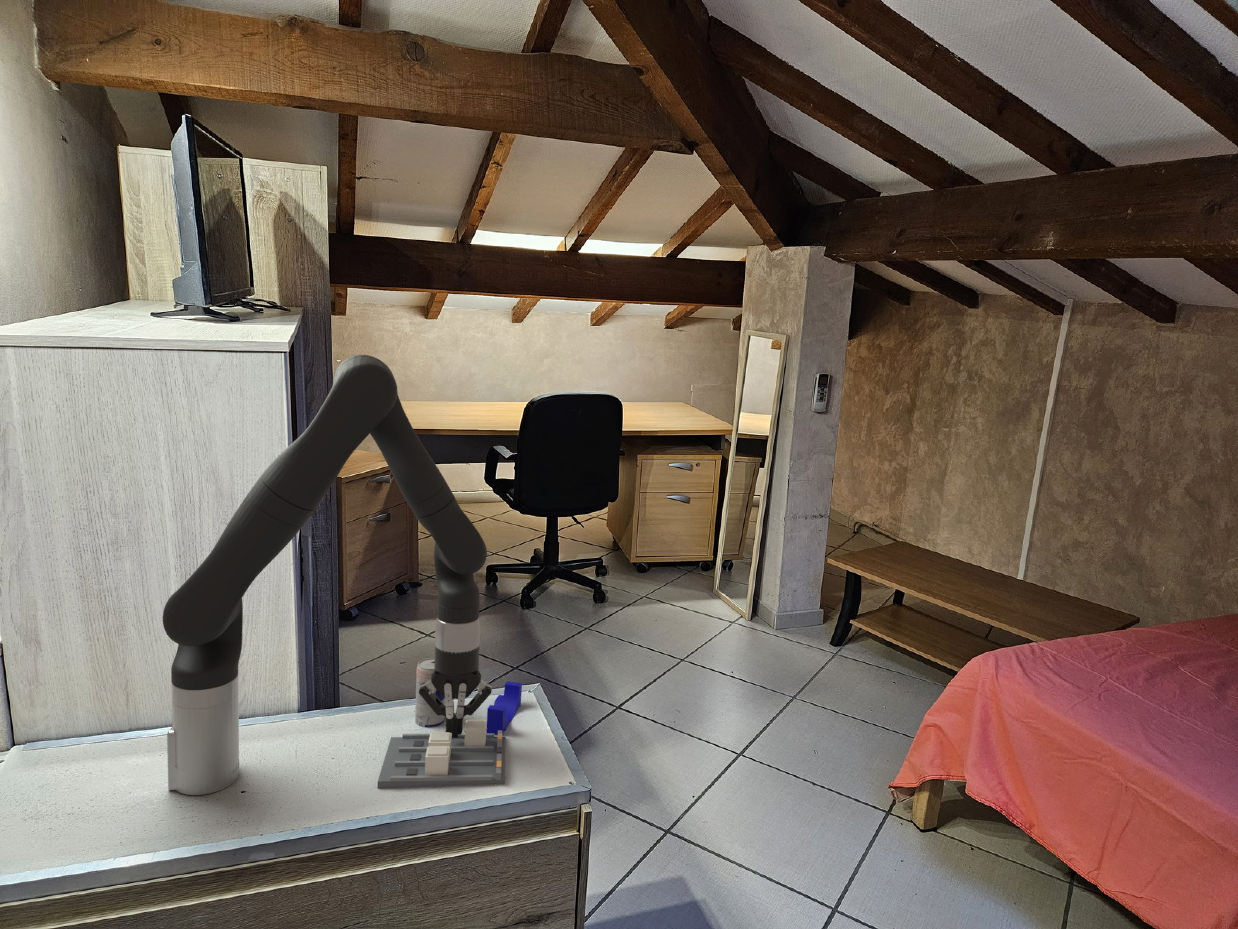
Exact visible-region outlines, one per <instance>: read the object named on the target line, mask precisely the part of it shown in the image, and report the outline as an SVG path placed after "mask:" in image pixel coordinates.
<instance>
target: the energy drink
mask: <svg viewBox="0 0 1238 929" xmlns="http://www.w3.org/2000/svg"><path fill="white" fill-rule="evenodd" d="M434 663H435V657H428V658H423V659H422V660H419V661H418V663H417V665H416V666H417V667H416V679H415V680H416V681H415V683H416V684H415V714H414V721H415V724H416V725H417V726H419V727H422V728H434V727H435V728H436V727H438V726H439V725H442V724H443V723H444V722H445V721H446V717H445V716H443V715H437V714H436V713H435V712H434V711H433V710H432V708H431V707H430V706H429V705H428V704H427V702H426V701H425V700H424V699H423V698H422V696H421V695H420V694H419V689H420V685H421V683H426V682H428V681H429V680H431V677H432V674H433V672H434ZM433 687H434V686H433ZM434 693H435V694H436V696H437V697H438V698H439V699H440V701H441V702H442V703H443V704H444V705H445V698H443V697H442V696H441V695H440V693H439V692H438V691H437V689H436V688H435V687H434Z"/></svg>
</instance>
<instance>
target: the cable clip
mask: <svg viewBox="0 0 1238 929" xmlns="http://www.w3.org/2000/svg"><path fill="white" fill-rule="evenodd" d="M522 686H523V683H522V682H516V681H515V682H514V681H506V682H505V684H504V689H503V690H504V691H503V694H498V696H496V698H495V700H494V703H493V704H489V706H488V707H487V712H486V714H487V715H486V720H487V723H486V733H494V736H498V730H502V735H503V736H504V732H505V731H506V730H507V728H508V727H509V725H510V724H511V722H512V720H513V718H514V717H515V715H516V713H517V712H518V709H519V708H520V707H521V705H522V690H523V687H522ZM509 723H510V724H509Z"/></svg>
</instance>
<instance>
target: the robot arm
mask: <svg viewBox="0 0 1238 929" xmlns="http://www.w3.org/2000/svg"><path fill="white" fill-rule="evenodd" d="M393 374H394V373H393V371H392V370H391V369H390V367H389V366H388V365H387V364H386V363H385V362H384V361H383V360H381V359H379V358H378V357H375V356H373V355H368V354H356V355H352V356H350V357H348V358H345V359H344V360H343V361H342V362H341V363H340V364H339V366H337V368H336V370H335V372H334V375H333V378H332V387H331V389H330V390H329V393H328V394H327V396H326V398H325V400H324V402H323V404H321V406H320V408H319V410H318V412H317V414H316V415H315V417H314V418H313V419H312V421H311V422H310V424H309V425H308V427H307V428H306V429H305V430H304V431H303V432H302V434H300V435H299V437H297V438H296V439H295V440H294V441H293V442H292V443H291V444H289V445H288V446H287V447H286V448H285V449H283V451H282V452H281V453H280V454H279V455H278V456H277V457H276V458H275V459H274V460H273V461H272V462H271V463H270V464H269V466H268V467H267V468H265V470H264V471H263V473H262V474H261V475H260V476H259V478H258V480H257V481H256V482H255V483H254V485H253V486H252V487H251V489H250V490H249V492H248V493H247V494H246V496H245V497H244V499H243V500H242V502H241V503H240V504H239V507H238V508H237V509H236V511H235V513H234V514H233V516H232V517H231V519H230V520H229V522H228V523H227V525H226V527H225V529H224V530H223V532H222V534H221V535H220V536H219V538H218V541H217V542H216V544H215V545H214V547H213V549H212V550H211V551H210V553H209V554H208V555H207V557H206V558H205V559H204V560H203V561H202V563H201V564H200V565H199V566H198V568H196V569H195V571H193V573H192V574H191V576H189V578H188V579H187V580H186V581H185V582H184V583H182V585H180V587H178V589H177V590H175V592H173V594H172V595H170V597H169V598H168V599H167V601H166V602H165V605H164V608H163V612H162V626H163V629H164V631H165V634H166V635H167V636H168V637H169V639H170V640H172V642H174V643H175V644H177V649H176V653H175V657H174V658H173V661H172V665H171V668H170V670H171V674H170V675H171V711H172V714H171V715H172V716H171V718H172V727H171V728H170V729H169V730H168V732H167V734H166V745H167V748H166V749H167V783H168V785H167V786H168V787H167V788H168V789H167V790H169V791H176V792H178V793H180V794H183V795H188V796H203V795H208V794H212V793H213V794H214V793H216V792H219V791H221V790H223V789H226V788H228V787H230V786H231V785H232V784H233V783H235V782H236V780H238V777H239V776H240V737H239V736H240V734H239V733H240V726H239V725H240V724H239V723H240V720H239V716H240V715H239V709H240V708H239V707H240V706H239V705H240V704H239V703H240V702H239V695H240V694H239V664H240V662H239V661H240V658H241V654H242V648H243V625H244V624H243V623H244V622H243V621H244V620H243V619H244V618H243V617H244V616H243V614H244V611H243V610H244V606H243V598H244V596H245V593H247V591H248V589H249V587H250V586H251V585H252V583H253V582H254V580H256V578H257V577H259V575H260V573H262V571H264V569H265V568H266V567H267V566H268V565H269V564H270V563H271V562H272V561H273V560H275V558H276V557H277V556H278V555H279V554H280V553H281V552H282V551H283V550H284V549H285V548H286V546H288V545H289V543H290V542H291V541H292V540H293V539H294V538H295V536H296V535H297V534H298V533H299V532H300V530H301V529H302V528H303V527H304V525H305V524H306V523H307V521H308V520H309V518H310V517H311V516H312V514H314V512H315V510H316V509H317V508H318V507H319V505H320V503H321V502H322V500H323V499H324V498H325V496H326V494H327V493H328V491H329V490H330V488H331V487H332V485H333V484H334V482H335V481H336V479H337V478H338V476H339V475H340V473H341V471H342V470H343V468H344V467H345V464H346V462H347V461H348V460H349V458H350V457H351V456H352V454H353V453H354V452H355V451H356V450H357V448H358V447H359V446H360V445H361V443H362V442H364V440H365V439H366V438H367V437H368V436H369V435H370V436H371V437H372V439H373V440H374V442H375V444H376V446H377V447H378V448H379V451H380V452H381V454H382V457H383V458H384V460H385V462H386V464H387V466H388V469H389V470H390V472H391V475H392V476H393V480H394V481H395V483H396V485H397V487H398V489H399V491H400V493H401V494H402V496H403V498H404V500H405V501H406V503H407V505H408V506H409V508H410V509H411V511H412V513H413V514H414V516H415V518H416V520H417V521H418V523H419V524H420V525H421V526H422V527H423V528H424V529H425V530H426V531H427V532H428V533H429V534H430V535H431V538H432V539H433V541H434V547H433V560H434V569H435V577H436V583H437V584H436V585H437V588H438V589H437V591H438V596H437V615H436V616H437V619H436V624H435V631H434V632H435V633H434V634H435V636H434V658H435V663H434V672H433V674H432V677H431V680H429V681H428V682H426V683H421V685H420V689H419V694H420V695H421V696H422V698H423V699H424V700H425V701H426V702H427V704H428V705H429V706H430V707H431V708H432V710H433V711H434V712H435V713H436V714H437V715H443V716H445V732H450V733H452V738H458V735H461V734H463V730H464V729H463V728H464V717H466V716H473V715H474V713H475V712H476V711H477V710H478V709H479V708H480V707H481V705H482V704H483V703H484V702H485V701H486V700H487V699H488V698H489V697H490V695H491V694H492V689H493V685H492V683H490V682H486V681H485V680H483V679H482V674H481V672H480V670H479V668H480V667H479V666H480V665H479V664H480V641H481V626H480V604H481V603H480V600H481V599H480V596H481V595H480V589H479V586H478V585H477V584H476V581H475V578H474V574H475V573H478V572H479V571H480V570H481V569H482V568H483V567H484V565H485V563H486V561H487V557H488V551H487V550H488V549H487V545H486V543H485V541H484V539H483V537H482V535H481V533H480V532H479V531H478V530H477V528H476V526H475V525H474V524H473V523H472V521H471V519H470V518H469V517H468V516H467V515H466V513H465V512H464V510H463V509H462V508H461V507H460V505H459V503H458V501H457V498H456V497H455V495H454V493H453V491H452V490H451V487H450V486H449V484H448V482H447V481H446V479H445V477H444V476H443V474H442V473H441V471H440V469H439V468H438V466H437V464H436V463H435V462H434V460H433V458H432V457H431V455H430V454H429V452H428V450H427V449H426V448H425V446H424V445H423V443H422V441H421V439H420V438H419V436H418V435H417V434H416V431H415V430H414V428H413V426H412V424H411V422H410V420H409V418H408V416H407V413H406V411H405V410H404V407H403V405H402V403H401V402H402V401H401V399H400V396H399V394H398V393H399V392H398V391H399V390H398V384H397V380H396V378H395V376H394V375H393ZM433 686H434V687H435V688H436V689H437V691H438V692H439V693H440V695H441V696H442V697H443V698H445V705H444V704H443V703H442V702H441V701H440V699H439V698H438V697H437V696H436V694H435V693H434V687H433ZM476 688H477V690H476ZM474 690H476V691H477V693H476V694H475V695H474V697H473V698H472V699H471V700H470V701H469V702H468V704H465V703H466V699H468V698H469V697H470V696H471V695H472V693H473V692H474ZM455 700H457V704H456V712H455Z"/></svg>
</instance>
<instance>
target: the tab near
mask: <svg viewBox="0 0 1238 929" xmlns="http://www.w3.org/2000/svg"><path fill="white" fill-rule="evenodd" d="M449 753H450V747H448V746H429V747H427V751H426V756H425V775H448V770H449Z"/></svg>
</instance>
